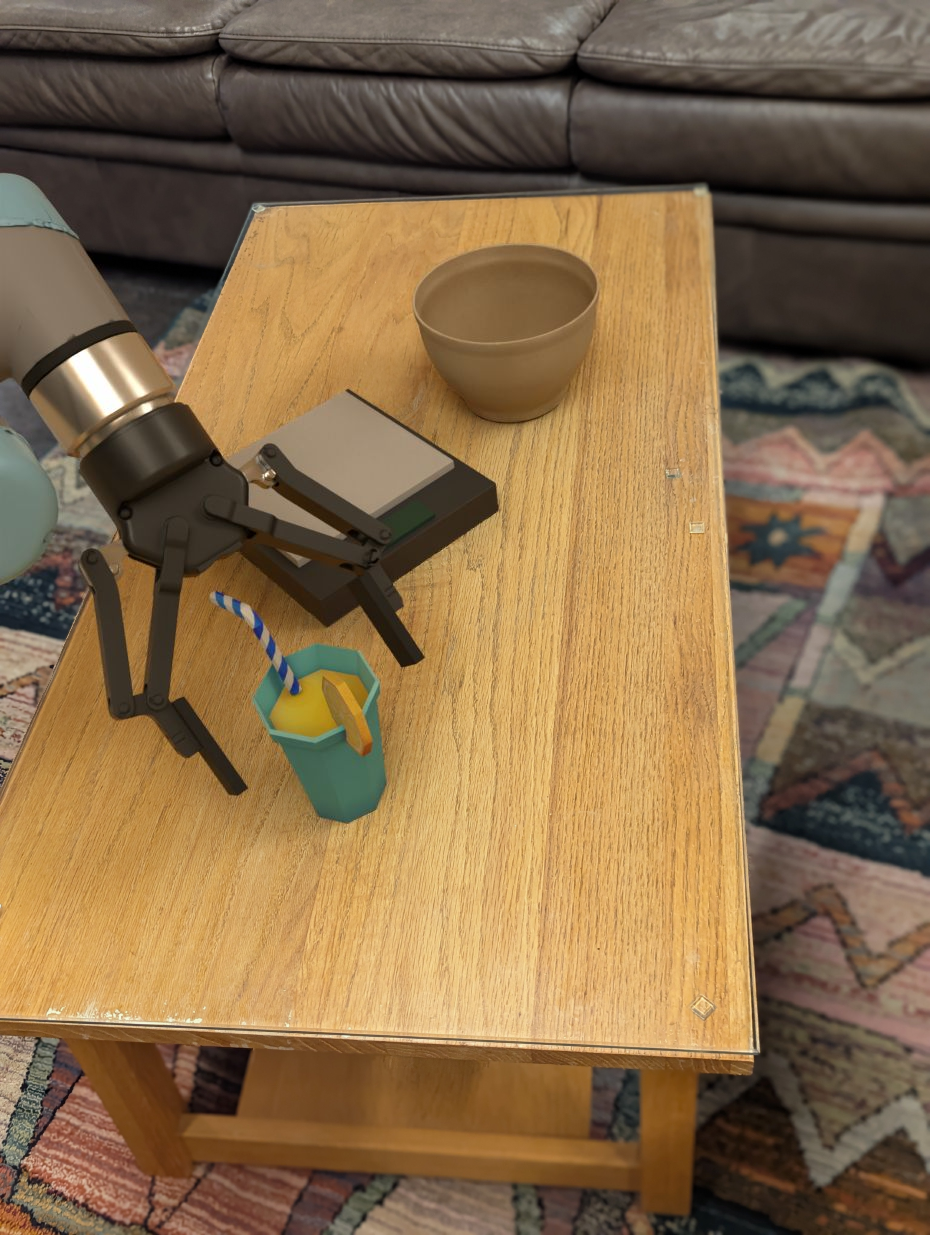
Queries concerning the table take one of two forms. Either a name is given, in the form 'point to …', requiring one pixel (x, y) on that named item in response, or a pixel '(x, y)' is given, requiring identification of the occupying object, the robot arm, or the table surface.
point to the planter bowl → (508, 325)
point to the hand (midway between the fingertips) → (329, 725)
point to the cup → (322, 719)
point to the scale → (365, 496)
